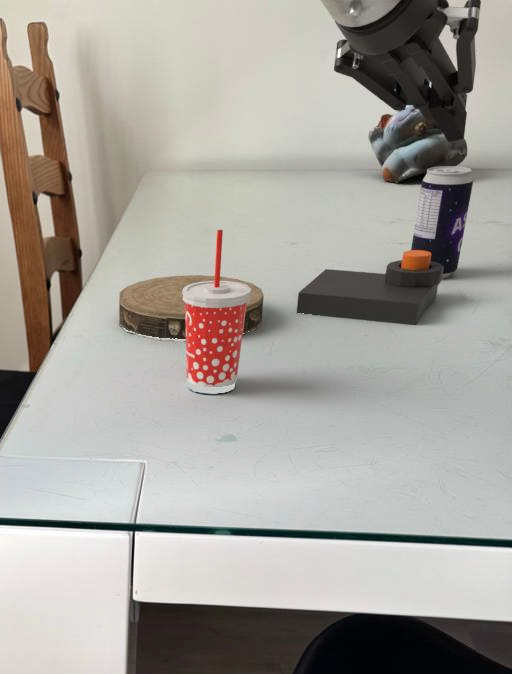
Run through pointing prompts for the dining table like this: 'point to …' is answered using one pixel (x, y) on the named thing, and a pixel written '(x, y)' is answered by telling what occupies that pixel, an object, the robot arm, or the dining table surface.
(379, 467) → the dining table surface
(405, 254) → the button
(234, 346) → the beverage cup
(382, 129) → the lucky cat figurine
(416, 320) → the scale
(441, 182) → the beverage can
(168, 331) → the wood slice
